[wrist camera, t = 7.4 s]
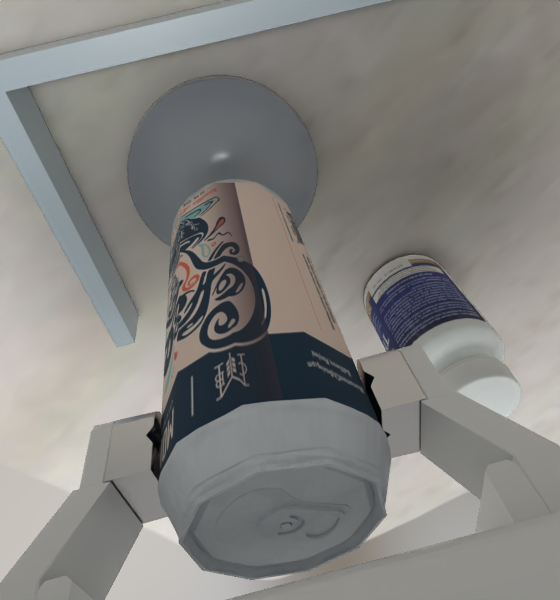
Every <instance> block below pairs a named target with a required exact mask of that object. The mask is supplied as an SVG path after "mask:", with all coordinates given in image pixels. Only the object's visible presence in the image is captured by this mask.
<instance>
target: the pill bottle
mask: <svg viewBox="0 0 560 600" xmlns="http://www.w3.org/2000/svg"><path fill="white" fill-rule="evenodd" d="M364 305H365V308H366V311H367V313H368V316H369V318H370V320H371V322H372V324H373V325H374V327H375V329H376V331H377V333H378V335H379V337H380V339H381V341H382V343H383V345H384V347H385V349H386V351H387V352H388V351H391V350H395V349H396V350H397V349H399V348H403V347H407V346H411V345H415V344H419V345H420V346H422V348H423V350H424V351H425V353H426V354H427V356H428V358H429V359H430V361H431V362H432V364H433V366H434V367H435V369H436V370H437V372H438V374H439V375H440V377H441V378H442V380H443V381H444V383H445V385H446V386H447V388H448V389H449V391H450V393H454V392H458V393H460V394H462V395H464V396H466V397H468V398H470V399H472V400H474V401H476V402H478V403H479V404H481V405H483V406H485V407H487V408H489V409H491V410H493V411H495V412H497V413H498V414H500V415H502V416H504V417H507V416H508V415H509V414H510V413H511V412H512V411H513V410H514V409H515V408H516V406H517V405H518V403H519V401H520V398H521V387H520V385H519V383H518V382H517V380H516V379H515V377H514V376H513V375H512V373H511V372H510V370H509V368H508V367H507V366H506V365H505V364H504V363H503V361H504V355H505V351H504V345H503V342H502V340H501V338H500V336H499V335H498V333H497V332H496V331H495V329H494V328H493V327H492V326H491V325H490V324H489V322H488V321H487V320H486V319H485V317H484V316H483V315H482V314H481V313H480V311H479V310H478V309H477V308H476V307H475V306H474V304H473V303H472V302H471V301H470V300H469V299H468V297H467V296H466V295H465V294H464V292H463V291H462V290H461V289H460V288H459V286H458V285H457V284H456V283H455V282H454V280H453V279H452V278H451V277H450V275H449V274H448V273H447V272H446V271H445V270H444V269H443V268H442V267H441V266H440V264H439V263H437V262H436V261H435V260H433V259H431V258H429V257H427V256H423V255H407V256H404V257H399V258H397V259H395V260H393V261H391V262H389V263H387V264H386V265H384V266H383V267H382V268H380V269H379V270H378V271H377V272H376V273H375V274H374V275H373V277H372V278H371V280H370V281H369V282H368V284H367V286H366V289H365V293H364Z"/></svg>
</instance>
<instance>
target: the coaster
mask: <svg viewBox="0 0 560 600" xmlns="http://www.w3.org/2000/svg"><path fill="white" fill-rule="evenodd" d="M227 179H244V180H249V181H253V182H257V183H259V184H262V185H264V186H266V187H268V188H269V189H271V190H272V191H274V192H275V193H277V194H278V195H279V196H280V197H281V198H282V199H283V201H284V202H285V203H286V204H287V205H288V207H289V209H290V211H291V214H292V217H293V220H294V222H295V225H296V227H298V226H299V225H300V224H301V222H302V221H303V219H304V217H305V216H306V214H307V212H308V210H309V208H310V206H311V203H312V200H313V197H314V194H315V189H316V184H317V159H316V154H315V150H314V146H313V143H312V140H311V138H310V135H309V133H308V132H307V130H306V128H305V126H304V124H303V123H302V121H301V120H300V119H299V117H298V116H297V114H296V113H295V112H294V110H293V109H292V108H291V107H290V106H289V105H288V104H287V103H286V101H285V100H283V99H282V98H281V97H280V96H279V95H277V94H276V93H275V92H273V91H272V90H270V89H268V88H267V87H265V86H263V85H261V84H259V83H256V82H254V81H252V80H248V79H244V78H241V77H235V76H227V75H212V76H205V77H199V78H196V79H193V80H189V81H186V82H184V83H182V84H180V85H178V86H176V87H174V88H172V89H171V90H169V91H168V92H166V93H165V94H163V95H162V96H161V97H160V98H159V99H158V100H157V101H156V102H154V103H153V105H152V106H151V107H150V108H149V109H148V111H147V112H146V113H145V115H144V116H143V118H142V120H141V121H140V123H139V125H138V127H137V130H136V132H135V135H134V137H133V141H132V144H131V148H130V153H129V158H128V183H129V188H130V193H131V196H132V199H133V202H134V205H135V207H136V209H137V211H138V213H139V215H140V216H141V218H142V219H143V221H144V222H145V224H146V225H147V226H148V227H149V229H150V230H151V231H152V232H153V233H154V234H155V235H156V236H157V237H158V238H159V239H160V240H162V241H163V242H164V243H166V244H167V245H168V246H170V247H171V234H172V228H173V222H174V219H175V217H176V215H177V212H178V210H179V208H180V207H181V206H182V204H183V203H184V202H185V201H186V200H187V198H188V197H189V196H190V195H192V194H193V193H195V192H196V191H198V190H199V189H201V188H202V187H204V186H206V185H208V184H211V183H214V182H216V181H221V180H227Z"/></svg>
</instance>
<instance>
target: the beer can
mask: <svg viewBox="0 0 560 600" xmlns="http://www.w3.org/2000/svg"><path fill="white" fill-rule="evenodd" d="M390 464H391V450H390V447H389V443H388V439H387V436H386V434H385V432H384V430H383V429H382V427H381V425H380V424H379V421H378V419H377V416H376V414H375V412H374V409H373V407H372V405H371V402H370V400H369V398H368V395H367V393H366V390H365V388H364V386H363V383H362V381H361V379H360V376H359V374H358V371H357V369H356V367H355V364H354V362H353V360H352V357H351V355H350V353H349V350H348V348H347V345H346V343H345V341H344V338H343V336H342V334H341V331H340V329H339V327H338V324H337V322H336V319H335V317H334V315H333V312H332V310H331V308H330V305H329V303H328V300H327V298H326V296H325V293H324V291H323V289H322V286H321V284H320V282H319V279H318V277H317V274H316V272H315V270H314V267H313V265H312V263H311V260H310V258H309V255H308V253H307V251H306V248H305V246H304V244H303V241H302V239H301V237H300V234H299V232H298V229H297V227H296V225H295V222H294V220H293V217H292V214H291V211H290V209H289V207H288V205H287V204H286V203H285V202H284V201H283V199H282V198H281V197H280V196H279V195H278V194H277V193H275V192H274V191H272V190H271V189H269V188H268V187H266V186H264V185H262V184H259V183H257V182H253V181H249V180H244V179H227V180H221V181H216V182H214V183H211V184H208V185H206V186H204V187H202V188H201V189H199V190H198V191H196V192H195V193H193V194H192V195H190V196H189V197H188V198H187V200H186V201H185V202H184V203H183V204H182V206H181V207H180V208H179V210H178V212H177V215H176V217H175V219H174V222H173V228H172V234H171V252H170V270H169V289H168V308H167V326H166V345H165V363H164V382H163V400H162V419H161V438H160V456H159V475H158V485H157V490H158V495H159V499H160V504H161V507H162V508H163V509H164V511H165V512H166V514H167V515H168V517H169V519H170V521H171V523H172V525H173V527H174V528H175V531H176V533H177V535H178V537H179V544H180V545H181V546H182V547H183V548H184V550H185V551H186V552H187V553H188V554H189V555H190V556H191V558H192V559H193V560H194V561H195V562H196V563H197V565H198V566H199V567H200V568H201V569H202V570H203V571H209V572H214V573H219V574H224V575H230V576H234V577H240V578H245V579H250V580H254V579H261V578H268V577H274V576H281V575H288V574H295V573H301V572H307V571H311V570H313V569H315V568H317V567H319V566H321V565H323V564H326V563H328V562H330V561H332V560H334V559H336V558H338V557H341V556H343V555H345V554H347V553H349V552H351V551H353V550H355V549H357V548H359V547H360V546H361V545H362V544H363V542H364V541H365V540H366V539H367V538H368V537H369V535H370V534H371V533H372V532H373V531H374V530H375V528H376V527H377V526H378V525H379V524H380V522H381V521H382V520H383V519H384V518H385V517H386V515H387V514H386V510H385V502H386V495H387V487H388V479H389V472H390Z"/></svg>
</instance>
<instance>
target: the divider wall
mask: <svg viewBox="0 0 560 600" xmlns="http://www.w3.org/2000/svg"><path fill="white" fill-rule="evenodd" d="M386 1H390V0H229V1H225V2H220V3H216V4H212V5H208V6H203V7H199V8H195V9H191V10H186V11H182V12H178V13H174V14H169V15H165V16H161V17H157V18H152V19H148V20H144V21H140V22H135V23H131V24H127V25H123V26H118V27H114V28H110V29H106V30H101V31H97V32H93V33H89V34H84V35H80V36H76V37H72V38H67V39H63V40H59V41H55V42H50V43H46V44H42V45H38V46H33V47H29V48H25V49H21V50H16V51H12V52H8V53H4V54H0V137H1V139H2V141H3V143H4V145H5V146H6V148H7V150H8V152H9V154H10V155H11V157H12V159H13V161H14V163H15V164H16V166H17V168H18V170H19V172H20V173H21V175H22V177H23V179H24V181H25V183H26V184H27V186H28V188H29V190H30V192H31V193H32V195H33V197H34V199H35V201H36V202H37V204H38V206H39V208H40V210H41V211H42V213H43V215H44V217H45V219H46V220H47V222H48V224H49V226H50V228H51V229H52V231H53V233H54V235H55V237H56V238H57V240H58V242H59V244H60V246H61V247H62V249H63V251H64V253H65V255H66V256H67V258H68V260H69V262H70V264H71V266H72V267H73V269H74V271H75V273H76V275H77V276H78V278H79V280H80V282H81V284H82V285H83V287H84V289H85V291H86V293H87V294H88V296H89V298H90V300H91V302H92V303H93V305H94V307H95V309H96V311H97V312H98V314H99V316H100V318H101V320H102V321H103V323H104V325H105V327H106V329H107V330H108V332H109V334H110V336H111V338H112V339H113V341H114V343H115V345H116V347H120V346H124V345H128V344H132V343H135V337H136V330H137V323H138V312H137V310H136V308H135V306H134V304H133V302H132V300H131V298H130V296H129V294H128V292H127V290H126V288H125V286H124V284H123V282H122V279H121V277H120V275H119V273H118V271H117V269H116V267H115V265H114V263H113V261H112V259H111V257H110V255H109V253H108V251H107V249H106V246H105V244H104V242H103V240H102V238H101V236H100V234H99V232H98V230H97V228H96V226H95V224H94V222H93V220H92V218H91V216H90V214H89V211H88V209H87V207H86V205H85V203H84V201H83V199H82V197H81V195H80V193H79V191H78V189H77V187H76V185H75V183H74V181H73V178H72V176H71V174H70V172H69V170H68V168H67V166H66V164H65V162H64V160H63V158H62V156H61V154H60V152H59V150H58V148H57V145H56V143H55V141H54V139H53V137H52V135H51V133H50V131H49V129H48V127H47V125H46V123H45V121H44V119H43V117H42V115H41V112H40V110H39V108H38V106H37V104H36V102H35V100H34V98H33V96H32V94H31V92H30V90H29V88H28V86H32V85H36V84H40V83H44V82H49V81H53V80H57V79H61V78H66V77H70V76H74V75H78V74H82V73H87V72H91V71H95V70H99V69H103V68H108V67H112V66H116V65H120V64H125V63H129V62H133V61H137V60H141V59H146V58H150V57H154V56H158V55H163V54H167V53H171V52H175V51H179V50H184V49H188V48H192V47H196V46H201V45H205V44H209V43H213V42H217V41H222V40H226V39H230V38H234V37H239V36H243V35H247V34H251V33H255V32H260V31H264V30H268V29H272V28H276V27H281V26H285V25H289V24H293V23H298V22H302V21H306V20H310V19H314V18H319V17H323V16H327V15H331V14H336V13H340V12H344V11H348V10H352V9H357V8H361V7H365V6H369V5H374V4H378V3H382V2H386Z"/></svg>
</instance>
